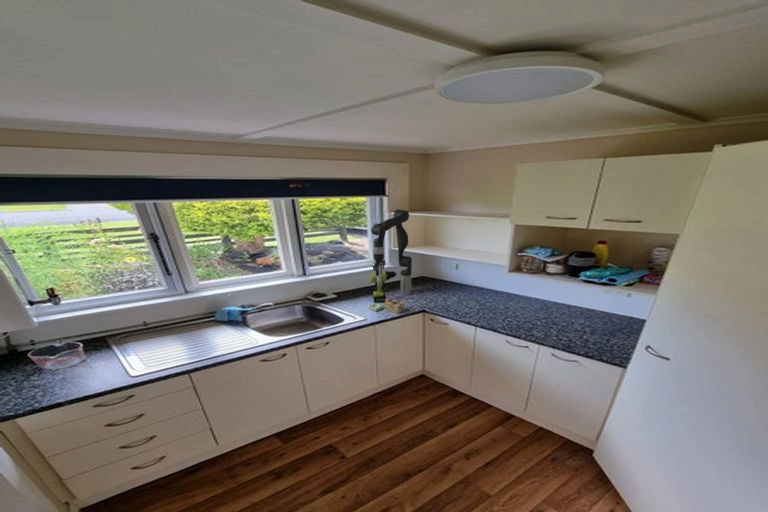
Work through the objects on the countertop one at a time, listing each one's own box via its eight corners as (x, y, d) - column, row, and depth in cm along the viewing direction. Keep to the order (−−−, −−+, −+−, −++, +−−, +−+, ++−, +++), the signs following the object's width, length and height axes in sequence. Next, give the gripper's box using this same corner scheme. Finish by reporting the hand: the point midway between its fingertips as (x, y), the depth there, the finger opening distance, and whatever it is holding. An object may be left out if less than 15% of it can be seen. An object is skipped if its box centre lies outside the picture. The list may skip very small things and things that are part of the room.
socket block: (394, 306, 241) (394, 299, 240) (404, 309, 235) (404, 302, 234) (386, 310, 234) (386, 303, 232) (396, 314, 228) (396, 306, 226)
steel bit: (378, 285, 234) (378, 265, 231) (382, 286, 233) (382, 266, 229) (376, 286, 232) (375, 266, 228) (379, 287, 230) (379, 267, 227)
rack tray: (374, 306, 243) (374, 303, 243) (382, 308, 238) (382, 305, 238) (368, 309, 237) (368, 306, 236) (376, 311, 232) (376, 308, 232)
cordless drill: (397, 298, 260) (397, 269, 254) (399, 301, 253) (399, 271, 247) (370, 300, 256) (369, 271, 250) (371, 303, 249) (370, 273, 244)
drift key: (387, 306, 241) (387, 298, 239) (390, 307, 239) (390, 299, 238) (385, 307, 239) (385, 299, 237) (388, 308, 237) (388, 300, 235)
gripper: (376, 254, 219) (377, 278, 223) (388, 251, 230) (388, 273, 234) (368, 253, 223) (369, 276, 227) (380, 250, 234) (380, 272, 238)
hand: (379, 275), depth 230 cm, fingers closed on steel bit, 3 cm apart
